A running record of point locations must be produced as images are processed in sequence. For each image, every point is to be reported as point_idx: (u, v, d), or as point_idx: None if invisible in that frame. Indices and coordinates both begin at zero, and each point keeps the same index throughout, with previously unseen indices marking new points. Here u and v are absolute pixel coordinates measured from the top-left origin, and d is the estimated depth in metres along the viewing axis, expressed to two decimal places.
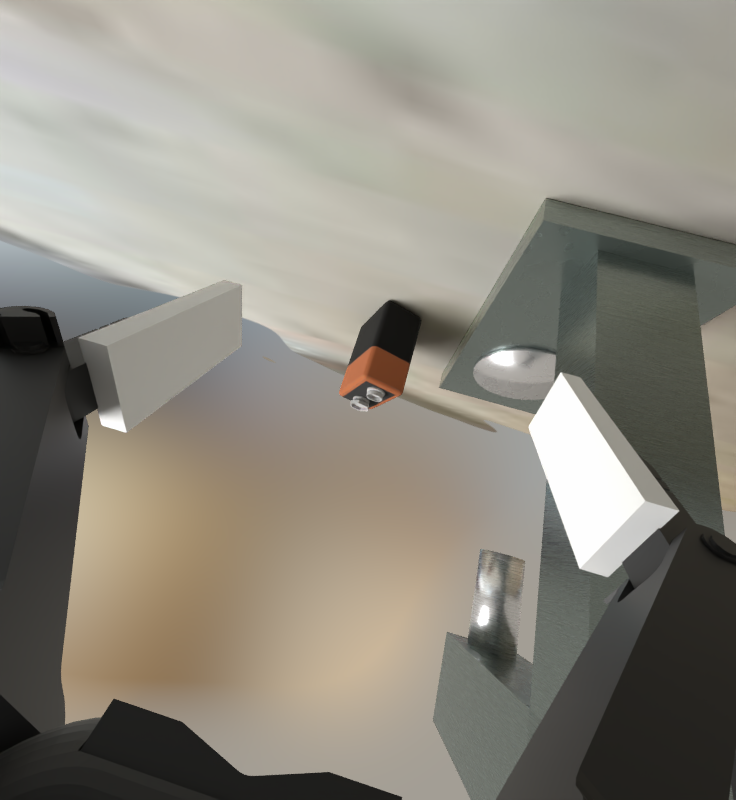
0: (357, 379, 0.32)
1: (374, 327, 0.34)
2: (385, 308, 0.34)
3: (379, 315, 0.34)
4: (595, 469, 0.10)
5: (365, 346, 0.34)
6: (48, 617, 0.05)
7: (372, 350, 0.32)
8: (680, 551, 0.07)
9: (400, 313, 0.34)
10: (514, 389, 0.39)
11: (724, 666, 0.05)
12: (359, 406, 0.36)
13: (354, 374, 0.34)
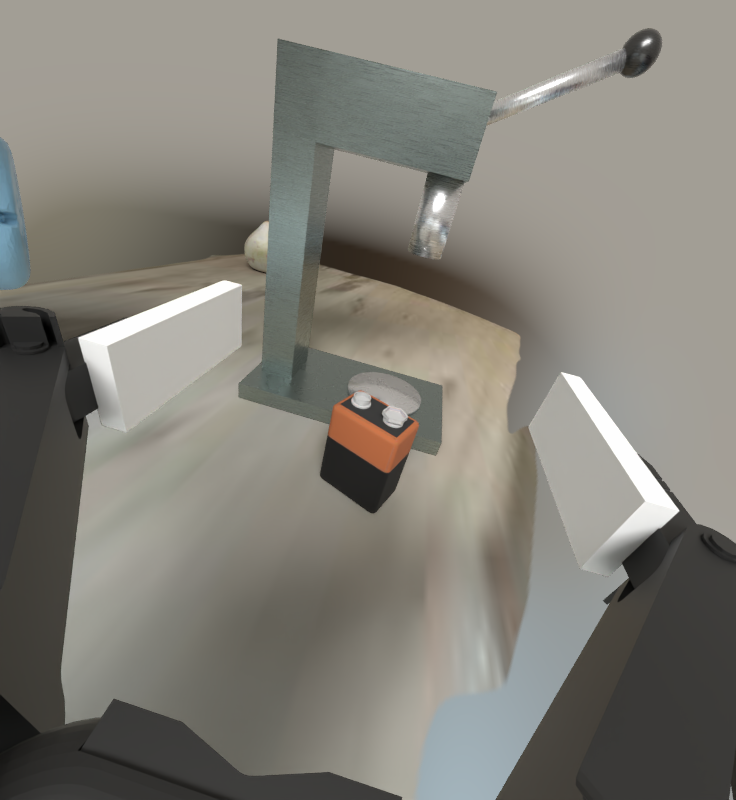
0: (346, 415, 0.29)
1: (332, 463, 0.32)
2: (321, 469, 0.34)
3: (327, 471, 0.33)
4: (595, 469, 0.09)
5: (343, 454, 0.31)
6: (48, 617, 0.05)
7: (328, 431, 0.31)
8: (680, 551, 0.07)
9: None
10: (404, 395, 0.46)
11: (724, 666, 0.05)
12: (402, 419, 0.29)
13: (355, 431, 0.29)
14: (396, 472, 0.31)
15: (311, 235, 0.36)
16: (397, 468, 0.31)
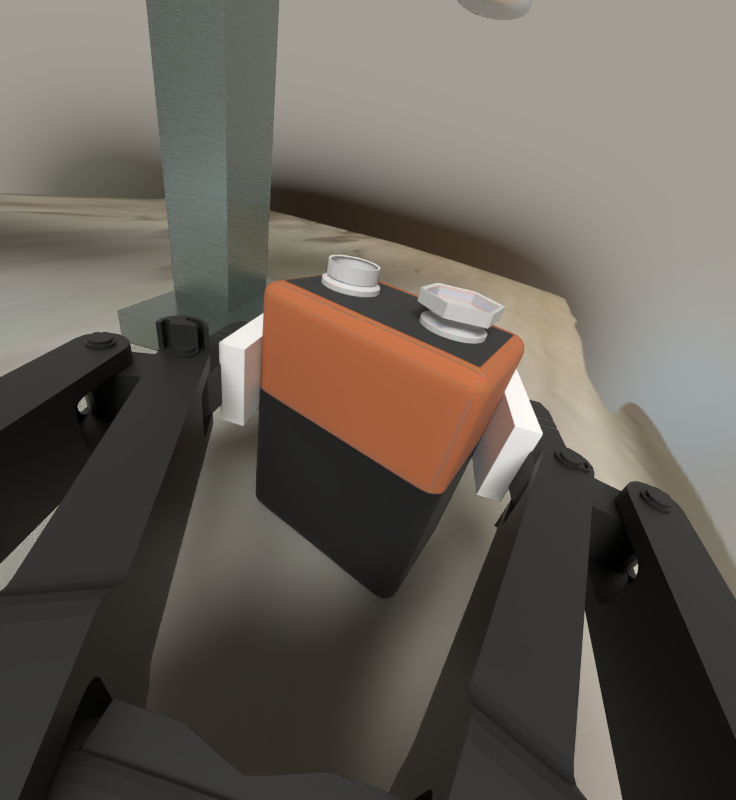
0: (303, 308, 0.09)
1: (277, 464, 0.12)
2: (256, 480, 0.14)
3: (268, 485, 0.13)
4: (494, 412, 0.11)
5: (302, 437, 0.11)
6: (152, 606, 0.06)
7: None
8: (540, 470, 0.08)
9: None
10: None
11: (574, 554, 0.06)
12: None
13: (331, 360, 0.09)
14: (451, 489, 0.11)
15: None
16: (457, 478, 0.11)
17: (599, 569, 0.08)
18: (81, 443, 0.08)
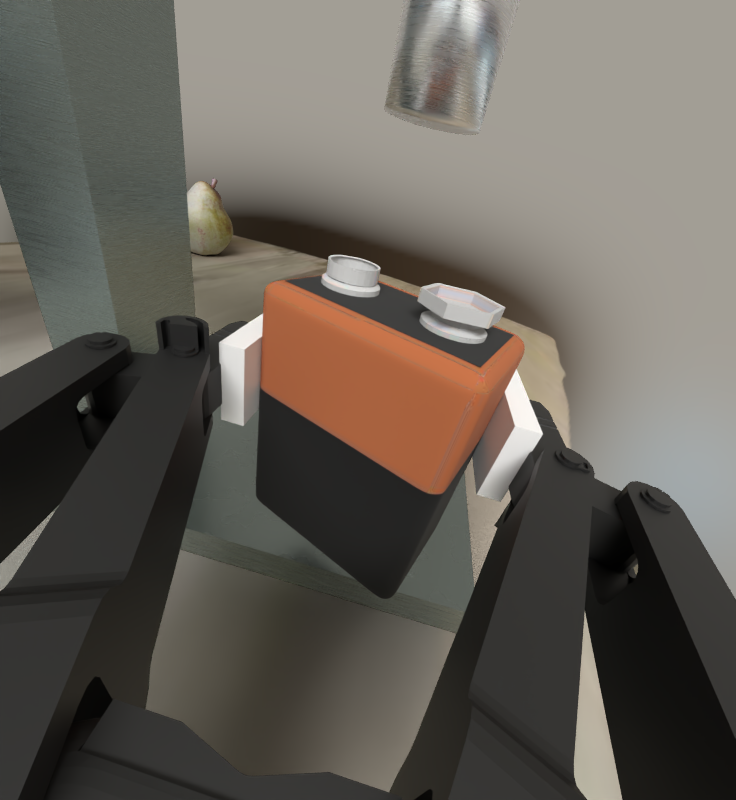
0: (303, 308, 0.09)
1: (277, 465, 0.12)
2: (256, 481, 0.14)
3: (268, 485, 0.13)
4: None
5: (301, 437, 0.11)
6: (152, 606, 0.05)
7: (260, 374, 0.11)
8: (540, 470, 0.08)
9: None
10: None
11: (574, 554, 0.06)
12: None
13: (331, 360, 0.09)
14: (451, 489, 0.11)
15: (106, 71, 0.13)
16: (457, 478, 0.11)
17: (600, 569, 0.08)
18: (81, 443, 0.08)
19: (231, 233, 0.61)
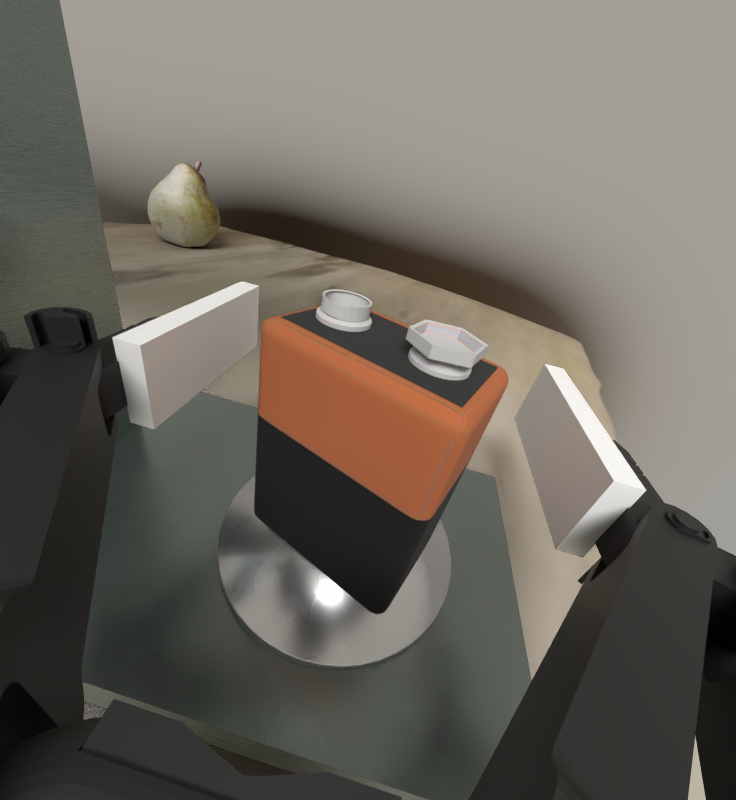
0: (298, 345, 0.09)
1: (274, 486, 0.13)
2: (254, 499, 0.14)
3: (266, 504, 0.13)
4: (572, 454, 0.10)
5: (297, 462, 0.11)
6: (73, 612, 0.05)
7: (258, 401, 0.11)
8: (646, 529, 0.07)
9: None
10: None
11: (687, 635, 0.05)
12: None
13: (324, 394, 0.09)
14: (440, 510, 0.12)
15: None
16: (445, 501, 0.11)
17: (710, 643, 0.07)
18: None
19: (218, 222, 0.54)
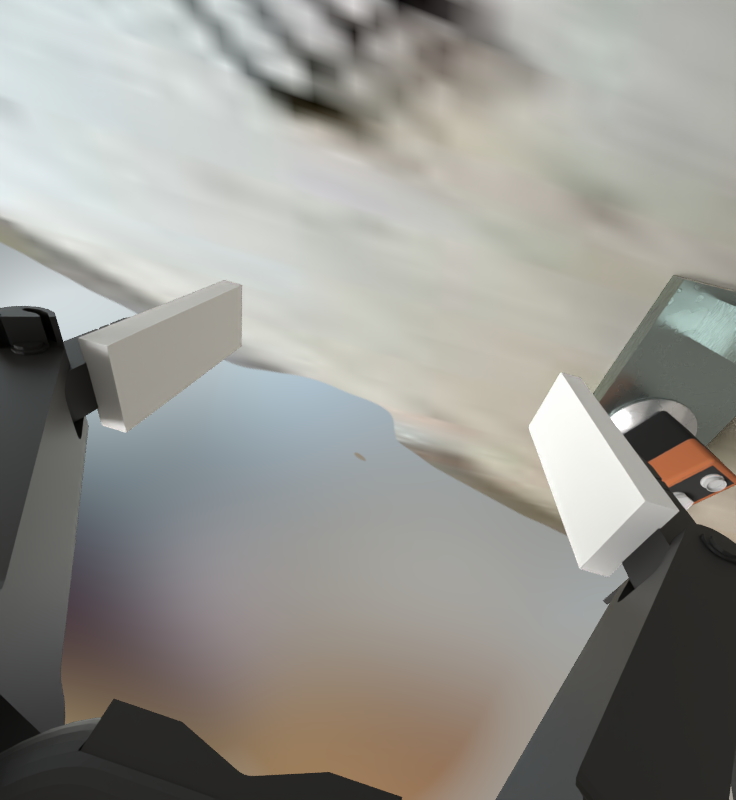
0: (694, 467, 0.33)
1: (664, 429, 0.38)
2: (666, 414, 0.39)
3: (661, 421, 0.39)
4: (595, 469, 0.09)
5: (665, 444, 0.37)
6: (48, 617, 0.05)
7: (693, 441, 0.35)
8: (680, 551, 0.07)
9: None
10: None
11: (724, 666, 0.05)
12: None
13: (675, 466, 0.34)
14: None
15: None
16: None
17: None
18: None
19: None
